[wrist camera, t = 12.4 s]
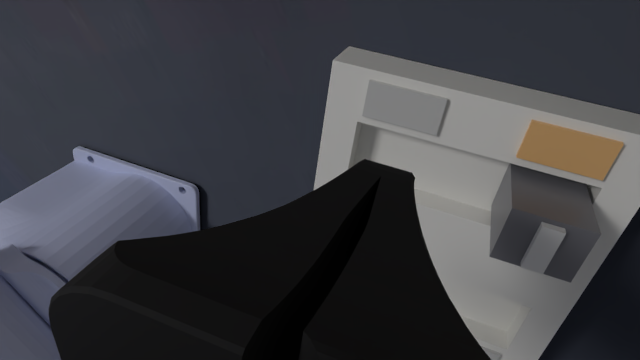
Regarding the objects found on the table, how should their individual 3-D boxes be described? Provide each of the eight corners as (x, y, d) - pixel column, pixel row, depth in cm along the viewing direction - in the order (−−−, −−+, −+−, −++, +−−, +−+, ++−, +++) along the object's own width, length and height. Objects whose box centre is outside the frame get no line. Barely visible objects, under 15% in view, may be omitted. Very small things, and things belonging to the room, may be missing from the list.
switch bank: (311, 276, 28) (295, 305, 26) (349, 46, 20) (331, 61, 18) (518, 351, 26) (519, 390, 24) (660, 119, 17) (682, 147, 15)
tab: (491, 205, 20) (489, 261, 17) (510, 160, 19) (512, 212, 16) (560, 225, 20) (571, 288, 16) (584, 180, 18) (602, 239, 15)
